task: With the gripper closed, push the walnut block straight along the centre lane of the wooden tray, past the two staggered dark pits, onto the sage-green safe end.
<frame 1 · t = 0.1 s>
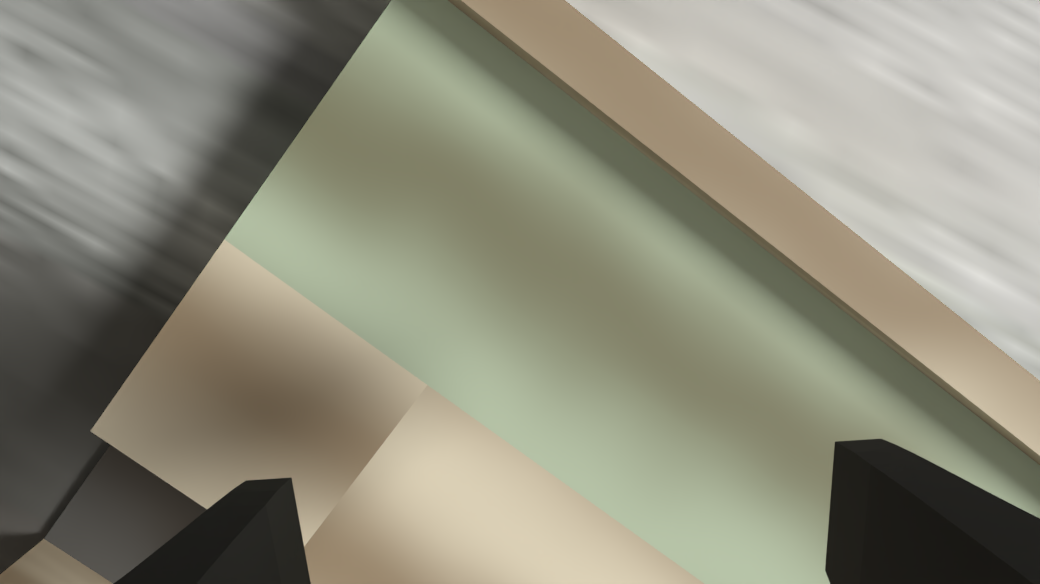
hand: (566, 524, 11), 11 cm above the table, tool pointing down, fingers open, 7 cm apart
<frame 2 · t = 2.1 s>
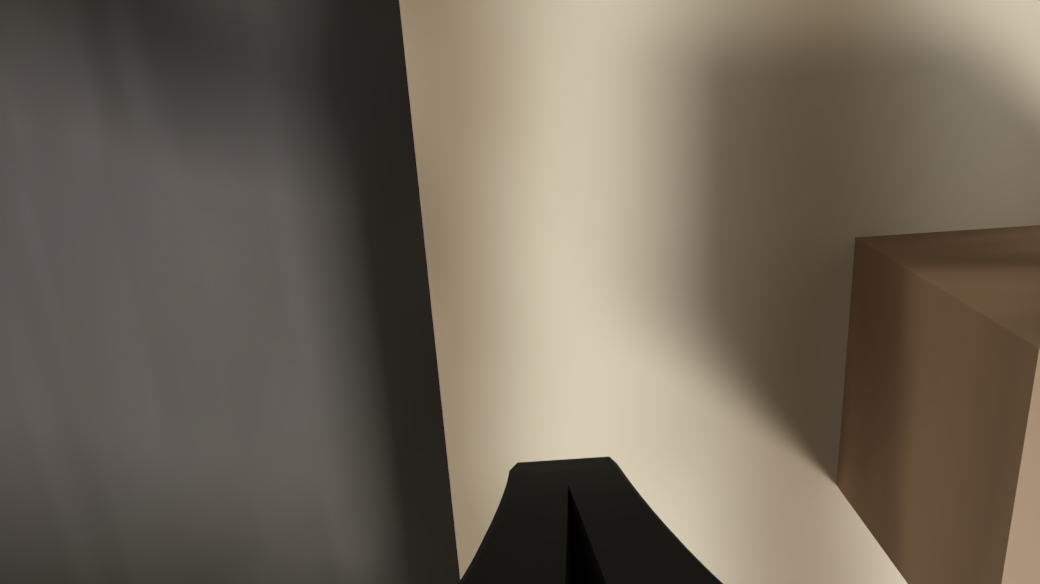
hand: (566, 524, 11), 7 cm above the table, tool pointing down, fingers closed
walnut block: (980, 359, 15), point 3 cm above the table, touching wooden tray
wooden tray: (1038, 295, 17), on the table
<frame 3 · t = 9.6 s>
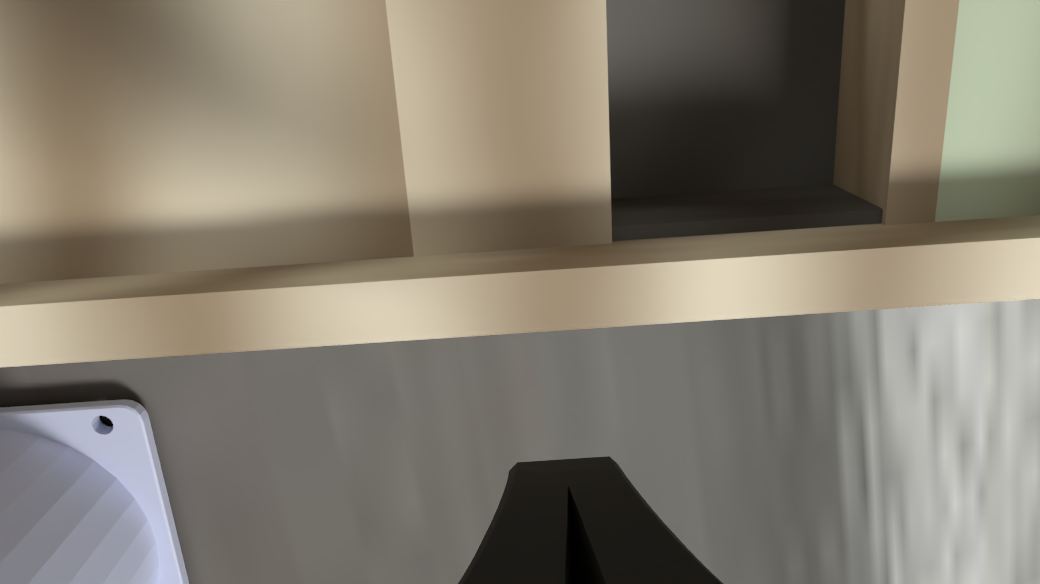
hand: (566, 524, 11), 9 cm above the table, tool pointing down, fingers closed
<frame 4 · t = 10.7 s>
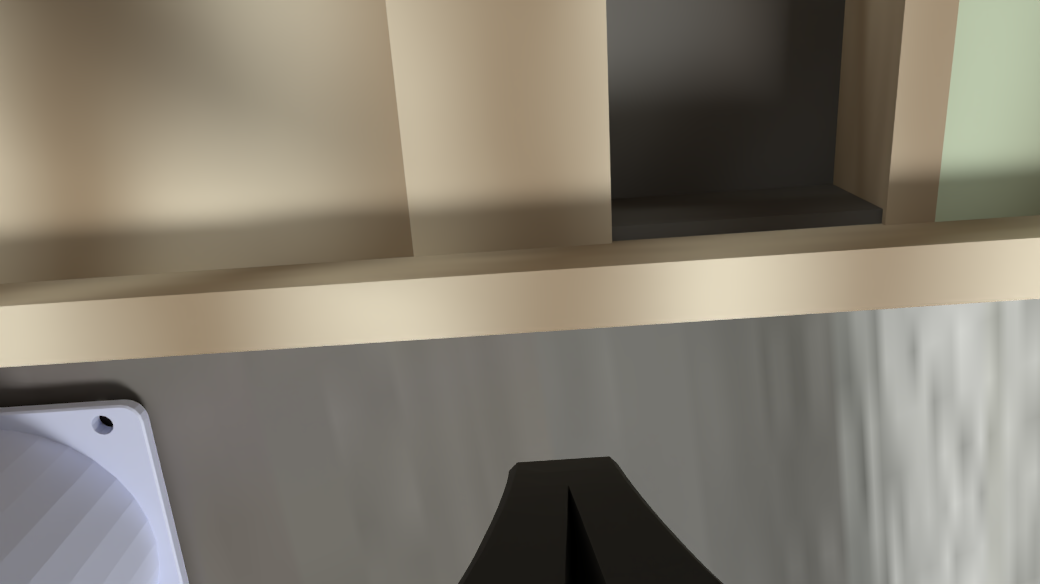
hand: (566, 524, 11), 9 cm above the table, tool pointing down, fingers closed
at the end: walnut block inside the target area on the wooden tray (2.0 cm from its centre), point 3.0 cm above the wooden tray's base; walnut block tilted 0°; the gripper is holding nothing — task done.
